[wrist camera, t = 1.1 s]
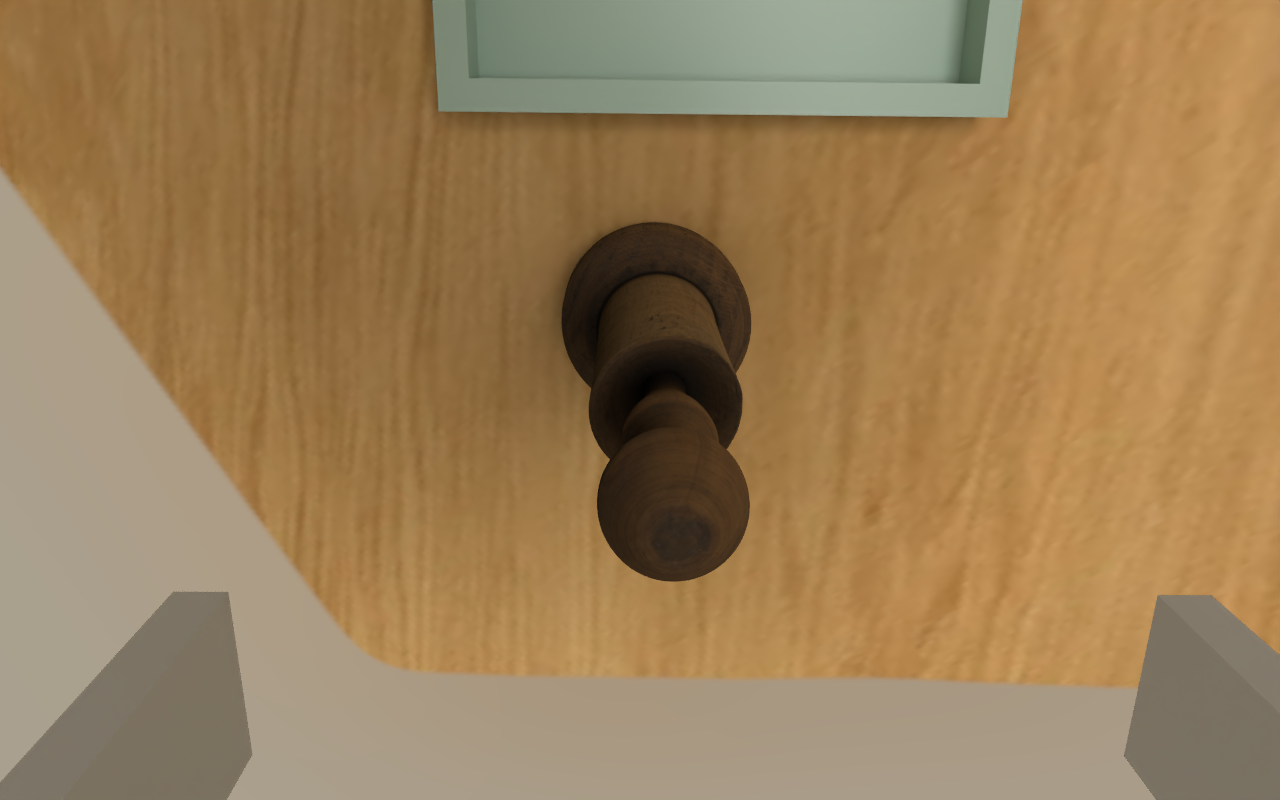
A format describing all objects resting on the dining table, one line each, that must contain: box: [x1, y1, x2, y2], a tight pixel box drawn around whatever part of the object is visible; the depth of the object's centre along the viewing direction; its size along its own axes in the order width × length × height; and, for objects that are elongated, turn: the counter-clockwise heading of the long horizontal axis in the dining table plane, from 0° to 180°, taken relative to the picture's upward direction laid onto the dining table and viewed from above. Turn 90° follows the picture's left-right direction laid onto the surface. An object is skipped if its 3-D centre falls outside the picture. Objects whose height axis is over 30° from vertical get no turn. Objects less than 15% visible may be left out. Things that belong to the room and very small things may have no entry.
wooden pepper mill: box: [562, 223, 751, 581], centre depth 26 cm, size 7×6×18 cm
